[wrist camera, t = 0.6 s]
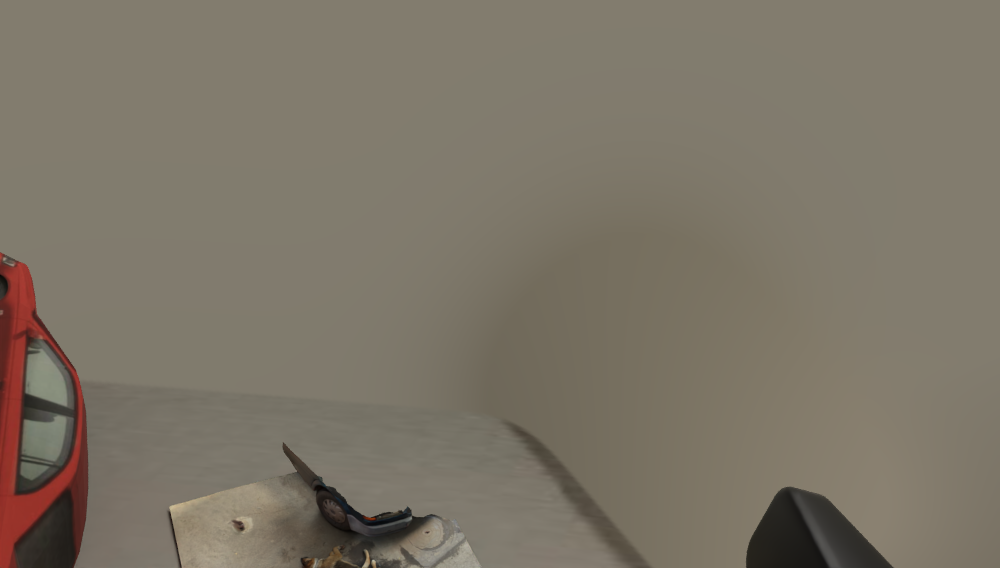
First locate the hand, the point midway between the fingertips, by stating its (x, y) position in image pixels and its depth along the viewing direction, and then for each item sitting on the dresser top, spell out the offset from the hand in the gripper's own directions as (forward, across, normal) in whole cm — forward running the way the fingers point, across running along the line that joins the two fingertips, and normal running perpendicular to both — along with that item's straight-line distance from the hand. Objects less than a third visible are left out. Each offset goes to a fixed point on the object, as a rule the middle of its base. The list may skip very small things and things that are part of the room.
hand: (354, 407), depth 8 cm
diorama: (+10, +2, +16) cm, 18 cm away
